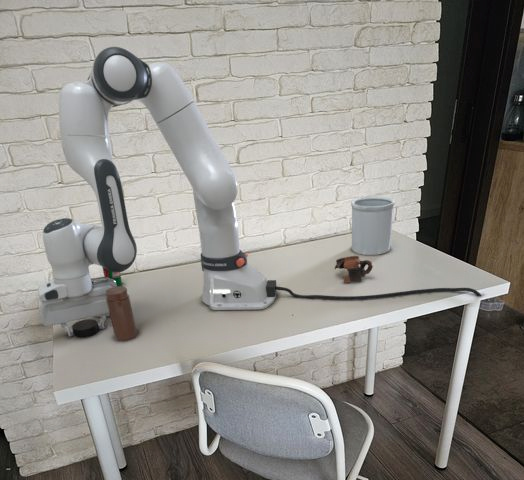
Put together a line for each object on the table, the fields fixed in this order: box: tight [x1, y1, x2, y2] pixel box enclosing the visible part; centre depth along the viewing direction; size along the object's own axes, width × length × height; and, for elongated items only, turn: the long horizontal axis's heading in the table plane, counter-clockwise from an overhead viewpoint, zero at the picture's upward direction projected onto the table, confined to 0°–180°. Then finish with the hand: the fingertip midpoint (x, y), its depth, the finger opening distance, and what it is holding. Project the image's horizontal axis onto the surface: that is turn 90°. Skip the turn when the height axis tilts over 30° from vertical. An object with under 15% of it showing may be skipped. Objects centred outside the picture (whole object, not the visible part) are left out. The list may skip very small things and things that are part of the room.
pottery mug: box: [333, 255, 374, 284], centre depth 152 cm, size 12×10×8 cm
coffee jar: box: [105, 285, 138, 342], centre depth 123 cm, size 6×6×13 cm
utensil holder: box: [350, 195, 396, 256], centre depth 172 cm, size 15×15×18 cm
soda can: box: [101, 266, 123, 286], centre depth 155 cm, size 5×5×12 cm
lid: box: [71, 318, 100, 339], centre depth 129 cm, size 7×7×2 cm
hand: (86, 331), depth 130 cm, fingers closed on lid, 6 cm apart
